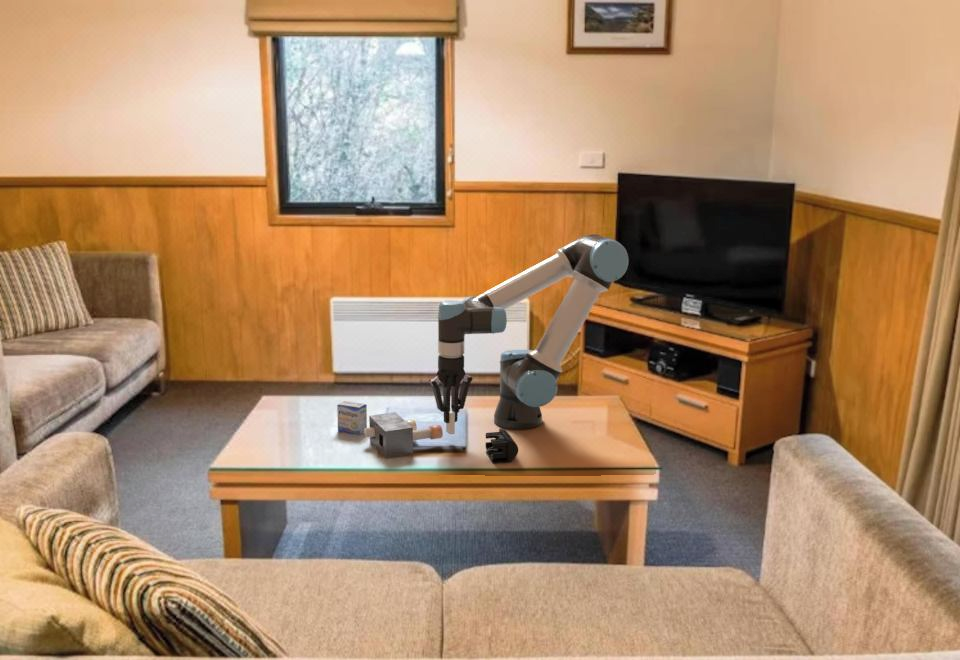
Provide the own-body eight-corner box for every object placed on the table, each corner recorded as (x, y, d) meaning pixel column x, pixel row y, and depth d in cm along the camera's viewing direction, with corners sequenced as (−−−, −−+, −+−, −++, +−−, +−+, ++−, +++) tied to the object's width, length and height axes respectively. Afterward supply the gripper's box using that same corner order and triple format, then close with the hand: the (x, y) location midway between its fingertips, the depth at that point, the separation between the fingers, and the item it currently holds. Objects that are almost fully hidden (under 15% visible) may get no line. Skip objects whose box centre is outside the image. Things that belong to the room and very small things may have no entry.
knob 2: (437, 435, 251) (437, 423, 250) (442, 439, 247) (442, 427, 246) (389, 442, 244) (388, 430, 244) (393, 447, 241) (393, 434, 240)
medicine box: (337, 431, 260) (336, 404, 258) (345, 427, 264) (344, 400, 262) (360, 435, 257) (359, 407, 255) (367, 430, 261) (366, 403, 259)
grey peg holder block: (395, 437, 255) (395, 412, 253) (412, 454, 242) (412, 427, 240) (369, 441, 251) (369, 415, 249) (386, 458, 239) (385, 431, 237)
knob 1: (412, 430, 255) (411, 417, 254) (416, 434, 252) (416, 421, 251) (363, 437, 249) (363, 424, 248) (367, 441, 246) (367, 428, 245)
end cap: (518, 462, 236) (518, 439, 235) (493, 464, 235) (493, 441, 233) (509, 449, 246) (509, 427, 244) (485, 451, 244) (485, 429, 243)
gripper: (466, 349, 251) (465, 425, 256) (425, 353, 246) (424, 431, 251) (477, 355, 244) (476, 433, 250) (434, 360, 239) (434, 439, 244)
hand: (450, 432), depth 250 cm, fingers closed
